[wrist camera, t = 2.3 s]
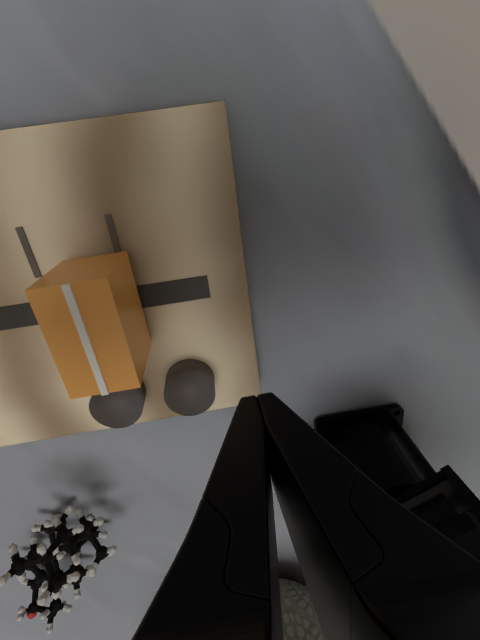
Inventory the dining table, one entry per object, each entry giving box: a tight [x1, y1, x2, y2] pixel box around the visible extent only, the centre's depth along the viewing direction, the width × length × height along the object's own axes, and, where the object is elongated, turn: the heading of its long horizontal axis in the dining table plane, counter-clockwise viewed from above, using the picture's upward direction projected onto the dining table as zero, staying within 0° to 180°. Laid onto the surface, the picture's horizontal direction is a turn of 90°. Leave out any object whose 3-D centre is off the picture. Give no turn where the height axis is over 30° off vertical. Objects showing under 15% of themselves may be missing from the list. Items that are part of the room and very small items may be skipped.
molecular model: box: [0, 505, 117, 634], centre depth 24 cm, size 6×15×8 cm, turn 157°
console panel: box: [0, 101, 261, 447], centre depth 18 cm, size 24×16×4 cm, turn 97°
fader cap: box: [24, 251, 152, 399], centre depth 16 cm, size 3×5×4 cm, turn 7°
